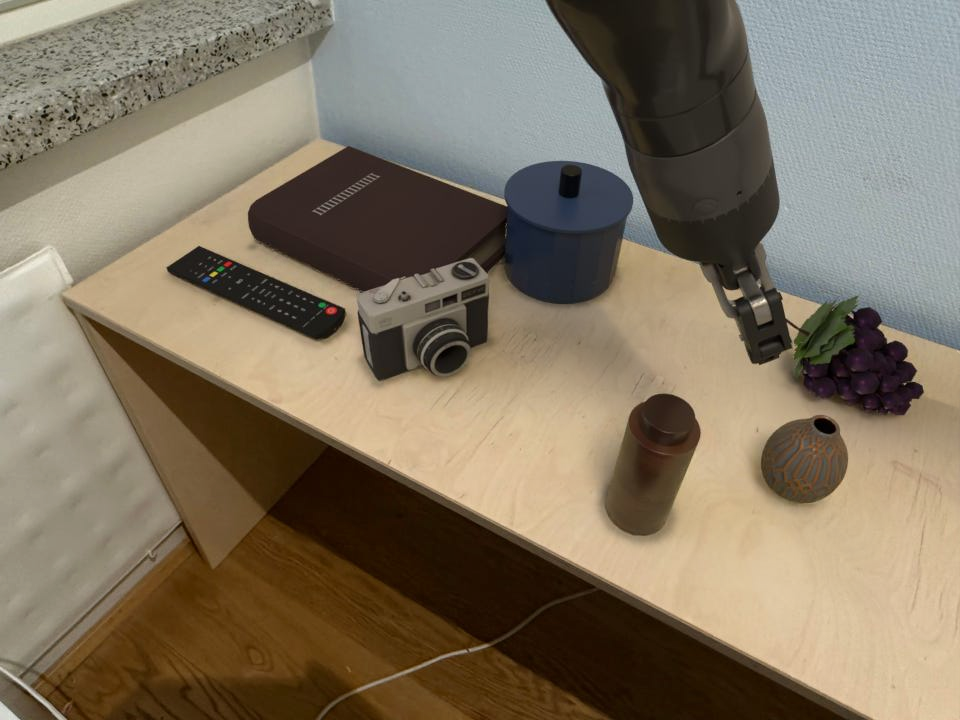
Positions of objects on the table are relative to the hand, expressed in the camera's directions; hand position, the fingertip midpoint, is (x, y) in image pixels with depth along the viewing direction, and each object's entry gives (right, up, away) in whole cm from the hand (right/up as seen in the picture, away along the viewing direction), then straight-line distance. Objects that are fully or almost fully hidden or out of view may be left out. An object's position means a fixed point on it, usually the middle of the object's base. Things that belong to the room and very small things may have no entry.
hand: (743, 311), depth 51 cm
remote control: (-47, +4, +30) cm, 56 cm away
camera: (-25, -4, +23) cm, 34 cm away
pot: (-10, +8, +35) cm, 37 cm away
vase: (+9, -16, +12) cm, 22 cm away
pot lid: (-10, +15, +27) cm, 33 cm away
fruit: (+18, -7, +21) cm, 28 cm away
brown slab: (-33, +11, +37) cm, 51 cm away
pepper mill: (-6, -17, +10) cm, 21 cm away
